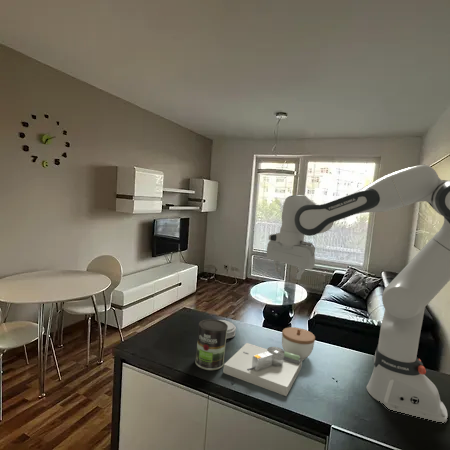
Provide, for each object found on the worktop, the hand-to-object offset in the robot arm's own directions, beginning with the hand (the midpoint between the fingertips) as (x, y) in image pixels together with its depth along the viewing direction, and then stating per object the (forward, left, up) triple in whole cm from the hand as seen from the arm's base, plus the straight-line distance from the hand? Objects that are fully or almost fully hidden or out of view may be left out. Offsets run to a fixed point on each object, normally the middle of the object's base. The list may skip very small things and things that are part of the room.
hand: (287, 275), depth 117 cm
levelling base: (+2, +10, -33) cm, 34 cm away
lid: (+28, -7, -33) cm, 44 cm away
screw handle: (0, +12, -29) cm, 31 cm away
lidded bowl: (-5, -8, -33) cm, 34 cm away
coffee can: (+20, +17, -33) cm, 42 cm away
